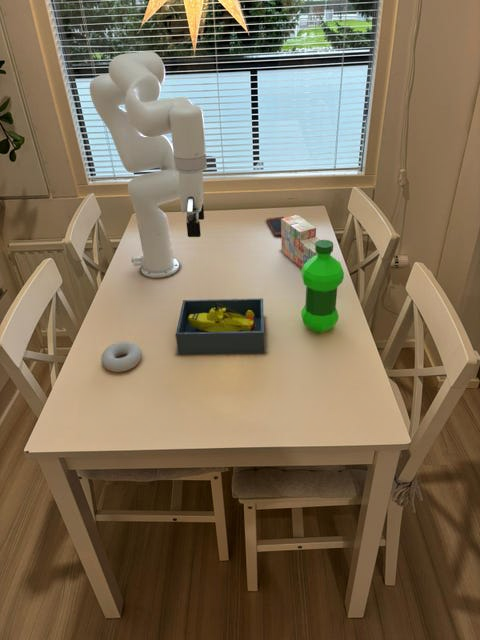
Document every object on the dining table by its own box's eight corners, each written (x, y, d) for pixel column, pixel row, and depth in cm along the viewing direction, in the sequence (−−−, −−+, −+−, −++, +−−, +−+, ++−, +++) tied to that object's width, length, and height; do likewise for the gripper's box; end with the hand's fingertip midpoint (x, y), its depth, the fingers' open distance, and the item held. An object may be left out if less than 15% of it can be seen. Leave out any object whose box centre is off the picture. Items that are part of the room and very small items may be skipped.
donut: (94, 366, 120) (123, 379, 115) (91, 356, 118) (120, 368, 113) (122, 345, 127) (150, 356, 122) (119, 334, 125) (148, 345, 120)
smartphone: (275, 234, 173) (266, 218, 185) (275, 237, 174) (266, 220, 186) (294, 232, 174) (284, 216, 186) (293, 234, 175) (283, 218, 187)
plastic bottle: (336, 340, 124) (344, 255, 109) (296, 335, 127) (298, 251, 112) (340, 318, 132) (349, 236, 117) (303, 313, 134) (306, 232, 120)
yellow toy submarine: (253, 343, 123) (252, 312, 118) (187, 337, 127) (183, 306, 121) (257, 329, 128) (257, 298, 123) (193, 323, 132) (189, 293, 126)
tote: (178, 354, 122) (175, 334, 118) (185, 319, 135) (183, 300, 131) (264, 353, 121) (263, 332, 117) (263, 317, 134) (263, 298, 130)
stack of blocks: (329, 274, 151) (332, 239, 144) (312, 279, 149) (314, 243, 142) (296, 246, 167) (297, 214, 160) (280, 250, 165) (280, 217, 158)
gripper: (179, 150, 119) (185, 213, 130) (169, 175, 106) (177, 243, 116) (209, 149, 119) (213, 213, 130) (202, 175, 105) (208, 243, 116)
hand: (196, 227), depth 123 cm, fingers open, 9 cm apart
